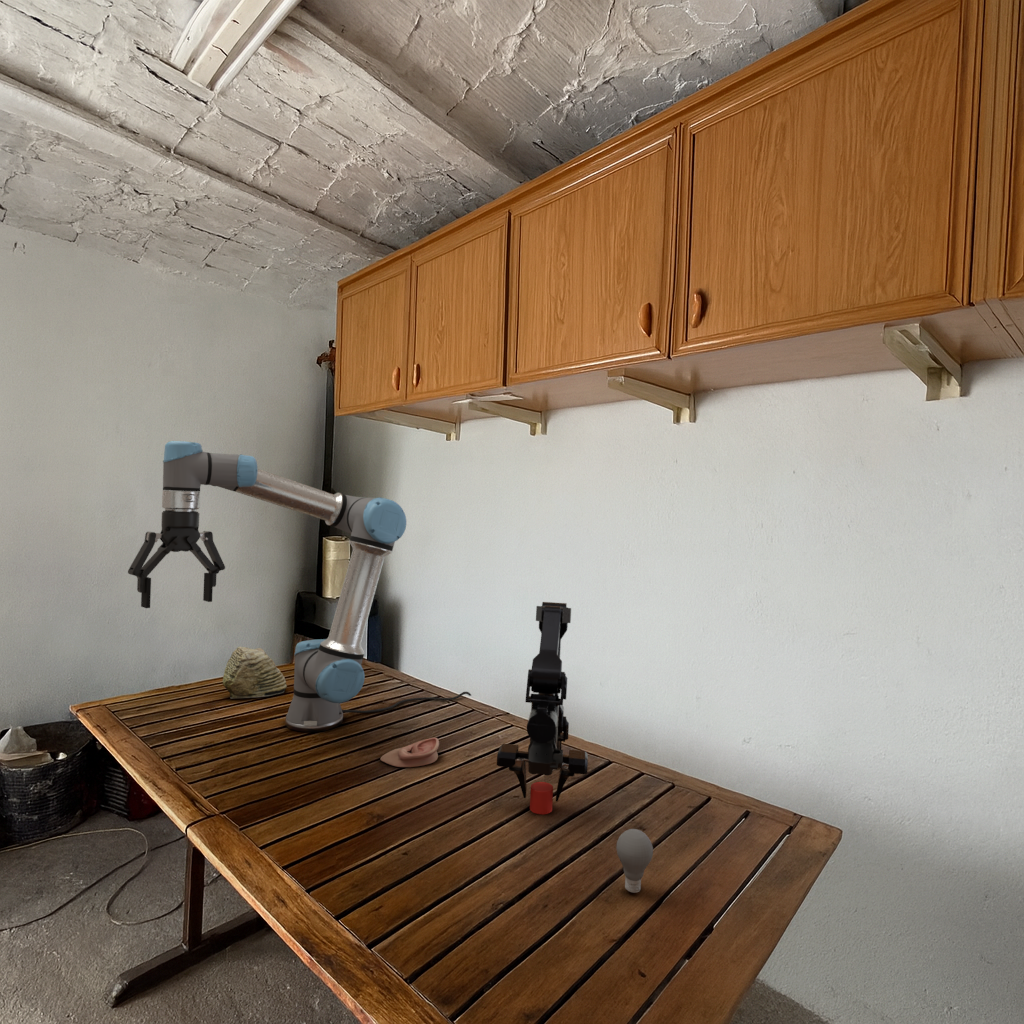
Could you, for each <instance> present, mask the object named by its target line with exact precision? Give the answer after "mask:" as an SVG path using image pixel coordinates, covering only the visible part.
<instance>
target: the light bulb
mask: <svg viewBox="0 0 1024 1024" xmlns="http://www.w3.org/2000/svg"><path fill="white" fill-rule="evenodd" d="M615 849H616V854H617V857H618V859H619V861H620V863H621V865H622V867H623V873H624V874H623V875H624V876H625V878H624V888H625V890H627V891H628V892H630V893H634V894H635V893H639V892H640V891H641V889H642V887H641V886H642V879H643V877H644V875H645V871H646V868H647V867H648V866H649V864H650V863H651V861H652V859H653V855H654V847H653V843H652V841H651V838H649V836H648V835H647V834H646V833H645V832H643V831H642V830H641V829H636V828H629V829H627V830H625V831H623V832H622V833H621V834H620V835H619V837H618V839H617V841H616V847H615Z"/></svg>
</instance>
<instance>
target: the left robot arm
mask: <svg viewBox="0 0 1024 1024" xmlns="http://www.w3.org/2000/svg"><path fill="white" fill-rule="evenodd" d="M202 447H203V446H202V444H201V443H200V442H195V441H194V442H193V441H184V440H171V441H168V442H166V443H165V445H164V453H163V460H162V465H163V467H162V473H163V474H162V497H161V508H162V509H164V510H163V511H162V512H161V530H160V532H155V531H146V532H145V535H144V541H143V543H142V544H141V547H140V548H139V550H138V552H137V554H136V556H135V558H134V559H133V561H132V563H131V565H130V566H129V568H128V570H127V574H129V575H130V576H134V577H136V578H137V581H136V582H137V583H136V585H137V586H136V590H137V593H141V595H140V596H141V597H140V607H141V608H144V609H151V595H152V594H151V593H152V592H151V591H152V577H149V575H150V574H151V573H152V572H153V570H155V569H156V567H157V566H158V565H159V564H160V562H162V561H163V560H164V558H165V557H166V556H167V555H168V554H170V553H171V552H173V553H179V552H184V553H185V552H187V553H188V552H190V553H191V554H193V556H194V557H195V558H196V559H197V561H199V563H200V564H201V565H202V566H203V567H204V569H205V570H206V571H207V572H204V573H203V595H202V597H203V598H202V600H203V601H204V602H208V603H211V602H213V591H214V589H213V588H215V587H216V586H217V575H218V574H219V573H220V572H221V571H225V569H226V565H225V563H224V561H223V558H222V557H221V555H220V553H219V550H218V549H217V545H216V544H215V542H214V535H213V534H214V533H213V532H212V531H210V530H204V531H202V532H201V531H199V528H200V512H199V511H197V510H199V509H200V506H201V505H200V504H201V486H202V485H204V486H212V487H219V488H221V489H225V490H227V491H231V492H234V493H238V494H241V495H244V496H248V497H249V498H254V499H256V500H260V501H263V502H266V503H270V504H272V505H275V506H278V507H282V508H285V509H289V510H291V511H295V512H297V513H300V514H304V515H307V516H310V517H314V518H317V519H320V520H323V521H324V522H325V524H326V525H327V526H330V527H333V528H336V529H338V530H341V531H343V532H345V533H348V534H349V535H350V537H349V544H350V546H351V547H352V552H351V556H350V559H349V562H348V566H347V570H346V572H345V577H344V580H343V584H342V586H341V591H340V594H339V598H338V602H337V605H336V608H335V613H334V616H333V619H332V623H331V626H330V630H329V634H328V637H327V638H323V639H322V638H320V639H307V640H303V641H299V642H297V644H296V645H295V650H294V651H295V652H294V653H293V654H294V655H293V656H294V672H293V673H294V674H293V695H292V696H293V697H292V699H291V702H290V704H289V708H288V711H287V713H286V715H285V726H286V728H287V729H289V730H291V731H294V732H295V731H296V732H301V733H316V732H325V731H329V730H332V729H335V728H337V727H339V726H340V725H342V723H343V722H344V713H347V714H349V713H351V714H353V713H354V714H372V713H379V712H385V711H388V710H390V709H391V710H392V709H394V708H396V707H397V706H399V705H401V704H405V703H407V702H413V701H414V702H415V701H427V700H428V701H453V700H454V701H455V700H457V699H459V698H460V697H462V696H464V695H467V696H469V697H470V696H472V694H471V692H469V691H463V692H461V693H460V694H458V695H456V696H453V697H435V696H433V697H432V696H425V697H413V698H406V699H402V700H399V701H398V702H395V703H394V704H393V705H390V706H387V707H382V708H375V709H367V710H366V709H365V710H360V709H359V710H358V709H342V706H341V704H342V703H347V702H348V701H350V700H352V699H353V698H355V697H356V696H357V695H358V694H359V693H360V691H361V690H362V688H363V686H364V684H365V678H366V677H365V671H364V668H363V666H362V665H363V660H364V656H365V651H364V649H363V647H362V642H363V638H364V634H365V630H366V627H367V623H368V620H369V616H370V612H371V608H372V605H373V601H374V597H375V595H376V590H377V586H378V583H379V579H380V576H381V572H382V568H383V564H384V562H385V559H386V557H387V556H389V555H390V554H392V553H393V550H394V546H395V543H396V542H397V541H398V540H400V539H401V538H402V537H403V536H404V534H405V531H406V527H407V516H406V513H405V510H403V508H402V506H401V505H400V504H399V503H397V502H396V501H394V500H393V499H389V498H387V497H382V496H381V497H370V496H369V497H368V496H354V495H349V494H345V493H342V492H335V493H334V494H333V493H330V492H327V491H325V490H321V489H319V488H316V487H313V486H310V485H307V484H304V483H300V482H298V481H295V480H292V479H290V478H286V477H284V476H280V475H278V474H275V473H272V472H269V471H267V470H263V469H260V468H258V462H257V459H256V457H254V456H253V455H246V454H235V453H218V452H208V451H203V448H202ZM159 540H160V541H161V544H160V546H158V548H157V550H156V551H155V552H154V553H153V555H152V556H150V558H149V559H148V557H149V555H150V554H151V552H152V550H153V548H154V547H155V544H156V543H157V542H158V541H159ZM199 540H201V541H202V542H203V545H204V547H205V549H206V551H207V553H208V555H209V558H208V556H207V555H206V554H205V553H204V552H203V550H202V548H201V547H200V546H199V545H198V543H197V542H198V541H199ZM147 559H148V560H147Z"/></svg>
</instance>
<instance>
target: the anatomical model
mask: <svg viewBox="0 0 1024 1024" xmlns="http://www.w3.org/2000/svg"><path fill="white" fill-rule="evenodd" d="M439 747H440V741H439V739H438V737H430V738H426V739H422V740H419V741H416V742H414V743H411V744H409V745H406V746H403V747H398V748H395V749H392V750H389V751H388V752H386V753H385V754H383V755H382V756H381V757H380V759H379V760H380V761H381V762H383V763H384V764H387V765H390V766H392V767H397V768H413V767H420V766H425V765H431V764H432V763H435V762H436V761H437V760H438V758H439V754H438V752H437V751H438V749H439Z"/></svg>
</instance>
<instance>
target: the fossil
mask: <svg viewBox="0 0 1024 1024" xmlns="http://www.w3.org/2000/svg"><path fill="white" fill-rule="evenodd" d="M222 676H223V677H222V685H223V687H224V688H225V690H226V691H228V693H229V698H230V699H250V698H264V697H271V696H275V695H281V694H284V693H285V691H286V689H287V687H288V686H287V680H286V678H285V676H284V674H283V673H282V672H281V669H279V668H278V667H277V665H276V663H275V662H274V660H273V659H272V658H271V657H270V656H269V655H268V654H267V653H266V652H265V650H264V649H263V648H260V647H258V648H251V647H247V646H246V647H245V646H238V647H237V648H236V649H235V650H233V651H232V653H231V656H230V657H229V659H228V660H227V663H226V666H225V668H224V671H223V675H222Z"/></svg>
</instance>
